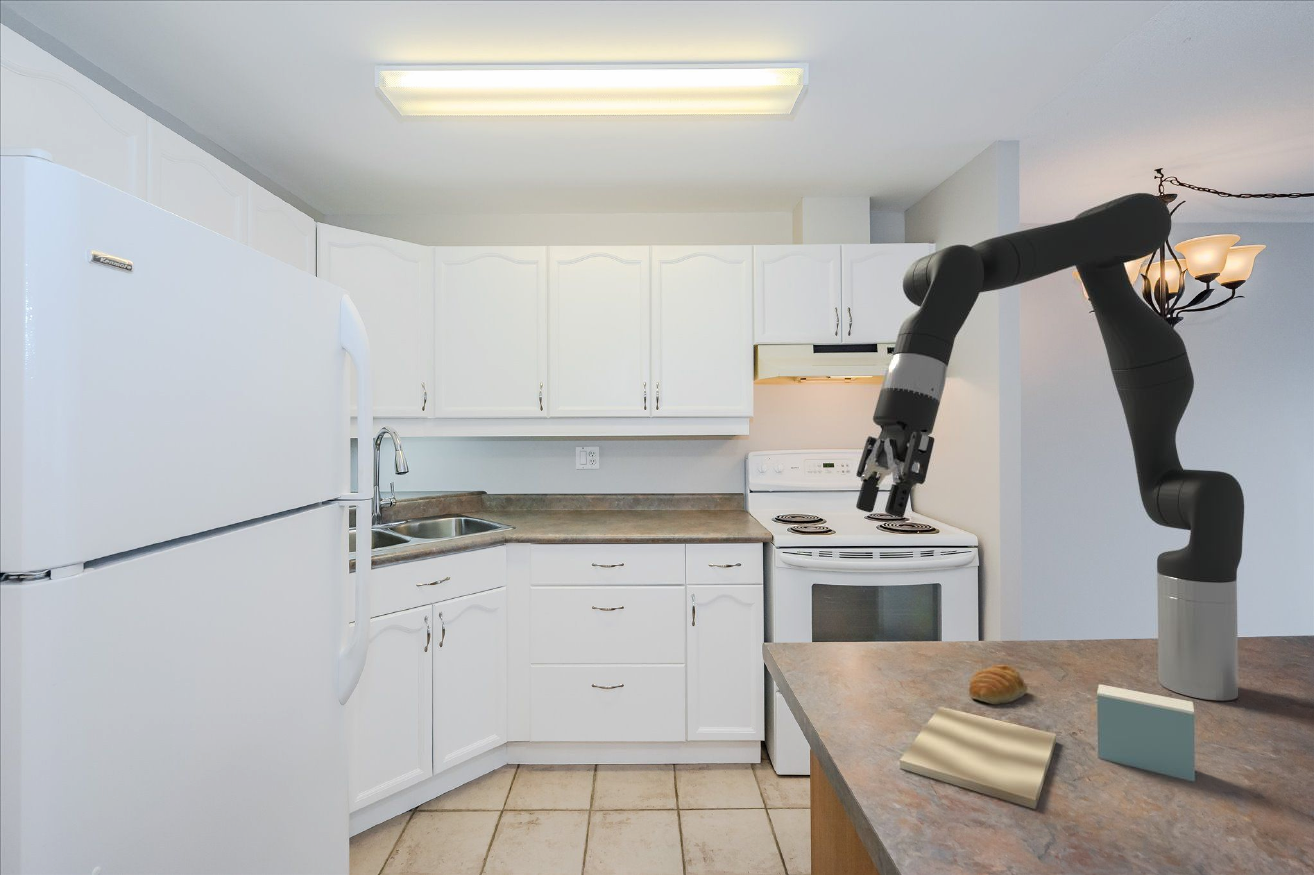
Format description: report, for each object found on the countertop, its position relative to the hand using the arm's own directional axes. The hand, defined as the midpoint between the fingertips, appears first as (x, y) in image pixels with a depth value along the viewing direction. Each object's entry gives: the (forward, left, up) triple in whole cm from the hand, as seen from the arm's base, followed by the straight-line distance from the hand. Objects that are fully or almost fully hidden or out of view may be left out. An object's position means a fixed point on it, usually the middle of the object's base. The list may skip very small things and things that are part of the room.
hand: (877, 513), depth 83 cm
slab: (-12, +27, -30) cm, 42 cm away
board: (-3, +11, -29) cm, 32 cm away
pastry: (-24, +9, -30) cm, 40 cm away
